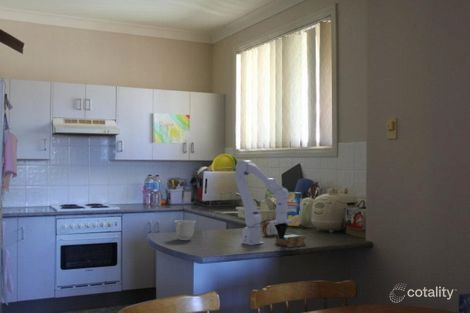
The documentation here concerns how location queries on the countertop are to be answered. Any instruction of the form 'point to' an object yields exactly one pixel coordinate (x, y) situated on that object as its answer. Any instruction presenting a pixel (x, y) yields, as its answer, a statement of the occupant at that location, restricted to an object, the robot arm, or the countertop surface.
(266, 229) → the tin
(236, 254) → the countertop surface
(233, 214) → the countertop surface
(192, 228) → the teacup
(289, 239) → the box
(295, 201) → the beverage box
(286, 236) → the cover plate
